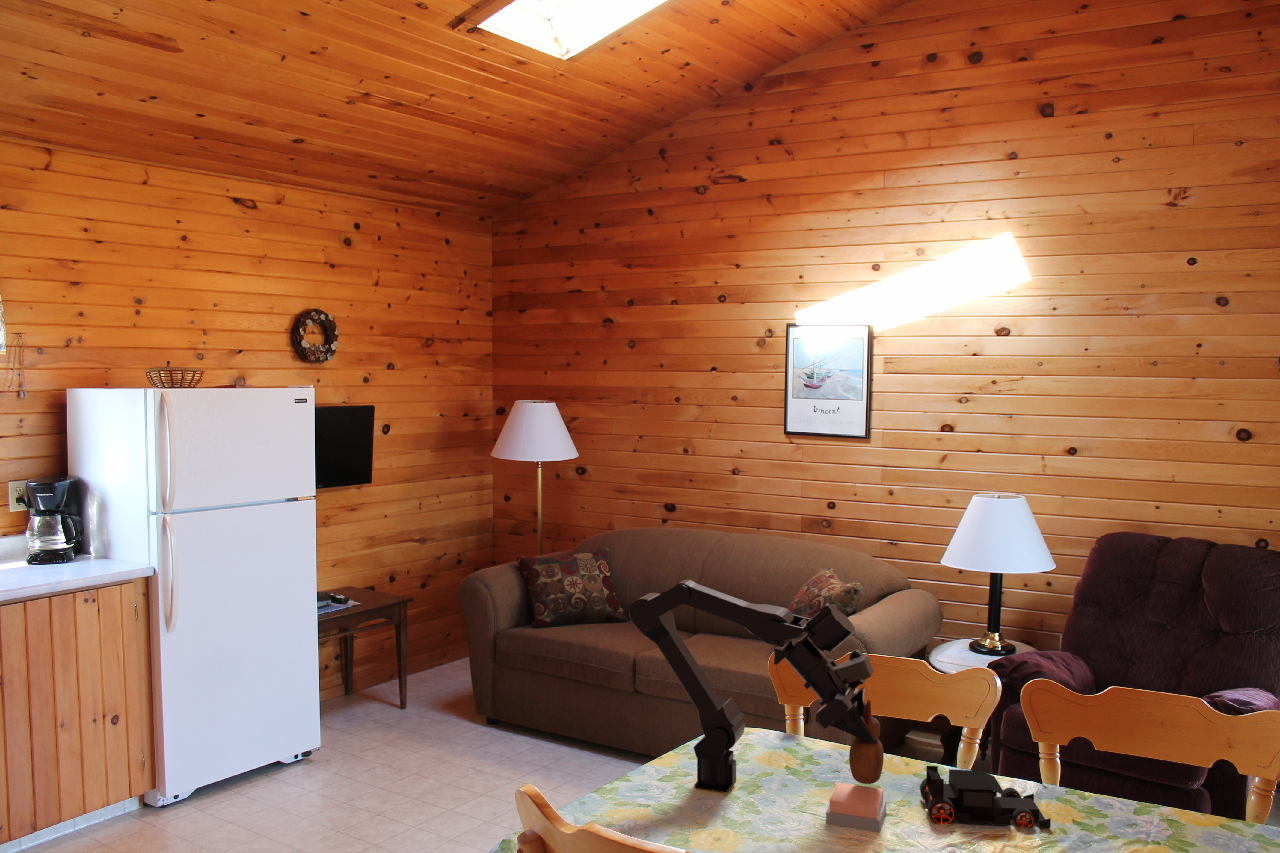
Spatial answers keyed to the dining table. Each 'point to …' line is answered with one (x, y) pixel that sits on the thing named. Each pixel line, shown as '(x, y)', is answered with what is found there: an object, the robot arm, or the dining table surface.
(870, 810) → the brick plinth
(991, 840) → the dining table surface
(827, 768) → the dining table surface
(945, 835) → the dining table surface
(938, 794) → the black toy car
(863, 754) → the wooden figurine
